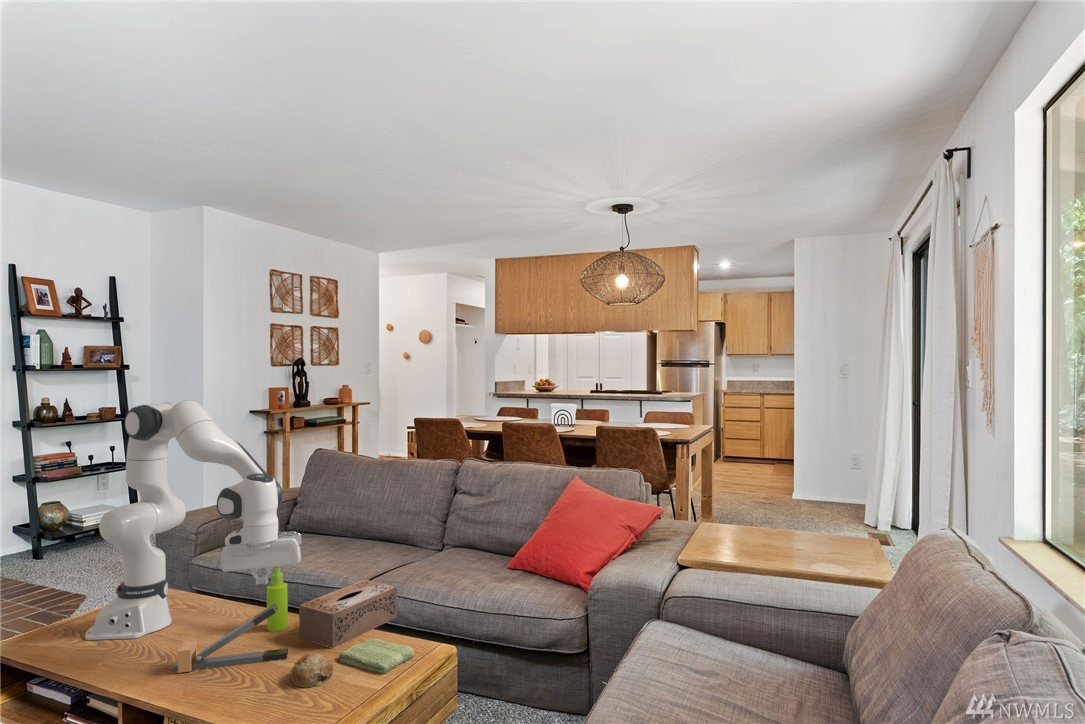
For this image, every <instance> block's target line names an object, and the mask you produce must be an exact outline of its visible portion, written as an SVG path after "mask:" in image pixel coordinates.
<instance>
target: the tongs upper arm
mask: <svg viewBox="0 0 1085 724" xmlns="http://www.w3.org/2000/svg"><path fill="white" fill-rule="evenodd" d="M277 609H278V608H277V606H276V605H275V604H273V605H272V606H270V607H269V608H267V607H266V608H265V609H264V610H262V611H261V612H260V613H258V614H256V615H255V616H254V617H252V618H250V619H249V620H247V621H246V622H244V623H242V624H241V625H239V626H238V627H236V628H234V629H233V630H232V631H230V632H229V633H226V635H224V636H222V637H221V638H219V639H217V640H216V641H214V642H213V643H211V644H209V645H208V646H207V647H205V648H204V649H202V650H201V651H200V650H199V652H197V656H196V658H195V661H196V662H200V661H201V660H202V659H204V658H208V657H209V656H210V655H212V654H213V653H214V652H217V651H218V650H220V649H221V648H222V647H224V646H226V645H227V644H230V642H232V641H233V640H235V639H237V638H238V637H240V636H241V635H243V634H244V633H246V632H248V631H249V630H250V629H252V628H254V627H255V626H258V625H259V624H261V623H263V621H265V620H267V618H268V617H270V616H271V615H273V614H275V613H276V611H277Z"/></svg>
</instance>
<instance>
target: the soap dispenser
mask: <svg viewBox="0 0 1085 724" xmlns="http://www.w3.org/2000/svg"><path fill="white" fill-rule="evenodd" d="M270 574H271V575H270V584H267V585H266V609H267V608H269V607H270V606H272V605H273V604H275V605H276V606H277V608H278V609H277V611H276V613H275V614H273V615H271V616H270V617H268V618H267V619H266V630H267V631H268V632H271V633H272V632H273V633H274V632H275V633H276V632H281V631H285V630H286V629H287V628H288V627H289V622H288V621H289V620H288V618H289V616H288V615H289V614H288V606H289V603H288V583H287V582H284V573H283V572H282V571H281V567H273V573H270Z"/></svg>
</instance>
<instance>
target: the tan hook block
mask: <svg viewBox="0 0 1085 724" xmlns="http://www.w3.org/2000/svg"><path fill="white" fill-rule="evenodd" d="M197 655H198V640H187V641H184V642H183V643H182V645H181V646H180V648H179V649H178V650H177V661H178V672H177V673H178V674H179V673H188V672H191V671H193V670H192V669H191V660H193V659H195V658H196V656H197Z"/></svg>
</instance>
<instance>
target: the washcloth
mask: <svg viewBox="0 0 1085 724" xmlns="http://www.w3.org/2000/svg"><path fill="white" fill-rule="evenodd" d="M338 656H339V658H341V659H340V662H341V663H342V662H343V663H342V664H345V663H346V664H345V665H349V664H350V665H349V666H352V665H353V667H357V668H361V669H362V670H363V669H364V670H367V671H370V672H375V673H379V674H387V673H388V672H390V671H391V670H393V669H395V668H397V667H398V665H401V664H402V663H405V662H407V661H409V660H410V659H412V658H414V656H415V652H414V649H413V648H412V647H410V646H409V645H400V644H398V643H395V642H388V641H386V640H382V639H380V638H370V639H368V640H365V641H363V642H361V643H357V644H355V645H352V646H351V647H350V648H349V649H346V650H341V651H340V652H339V655H338Z"/></svg>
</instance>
